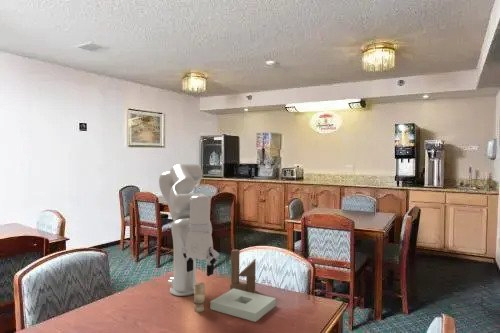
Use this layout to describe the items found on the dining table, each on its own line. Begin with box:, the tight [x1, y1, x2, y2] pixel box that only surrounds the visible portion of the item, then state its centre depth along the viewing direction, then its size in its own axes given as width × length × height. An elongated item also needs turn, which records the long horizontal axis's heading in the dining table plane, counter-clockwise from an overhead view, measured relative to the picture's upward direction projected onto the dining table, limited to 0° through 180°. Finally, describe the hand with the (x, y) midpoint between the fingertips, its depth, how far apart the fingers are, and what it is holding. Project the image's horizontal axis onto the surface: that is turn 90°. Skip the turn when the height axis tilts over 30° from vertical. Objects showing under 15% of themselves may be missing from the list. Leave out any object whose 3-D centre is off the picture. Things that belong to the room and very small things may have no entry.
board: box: [210, 288, 277, 323], centre depth 135 cm, size 20×16×3 cm
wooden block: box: [229, 248, 257, 294], centre depth 152 cm, size 4×11×18 cm, turn 84°
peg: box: [193, 281, 206, 313], centre depth 132 cm, size 4×4×10 cm
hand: (199, 272), depth 132 cm, fingers open, 9 cm apart
